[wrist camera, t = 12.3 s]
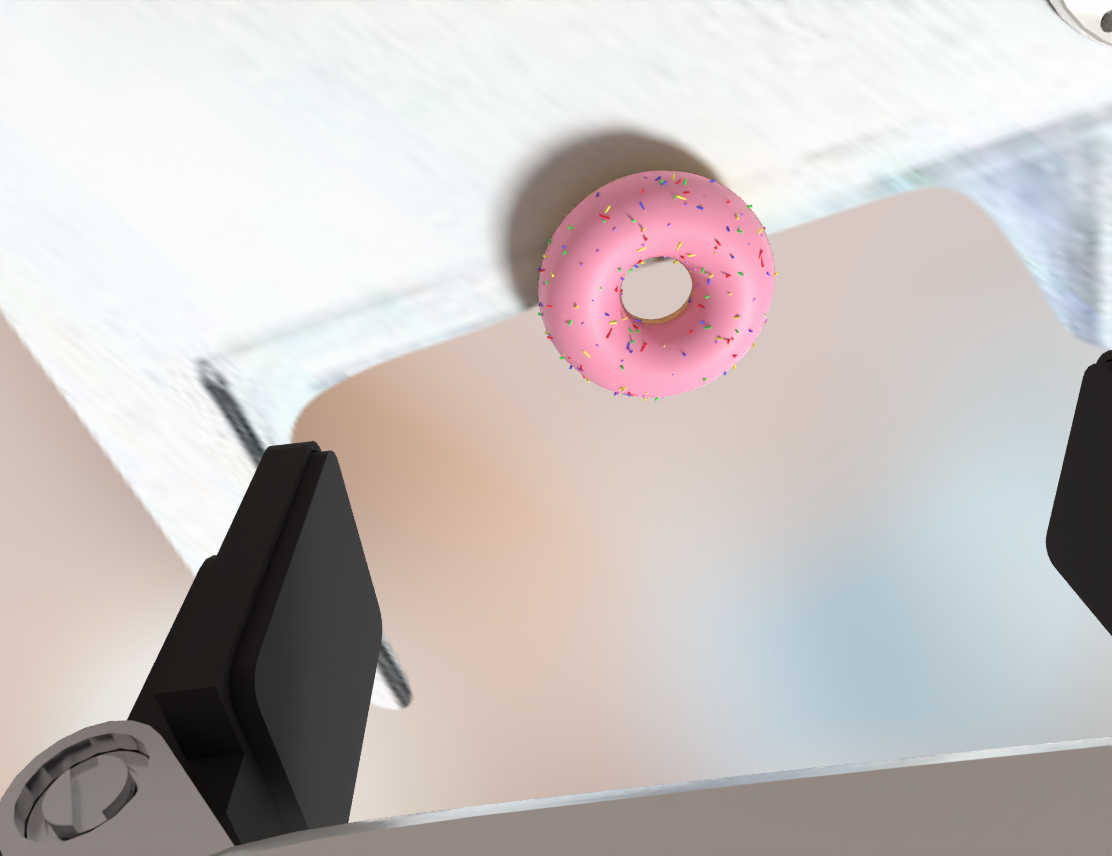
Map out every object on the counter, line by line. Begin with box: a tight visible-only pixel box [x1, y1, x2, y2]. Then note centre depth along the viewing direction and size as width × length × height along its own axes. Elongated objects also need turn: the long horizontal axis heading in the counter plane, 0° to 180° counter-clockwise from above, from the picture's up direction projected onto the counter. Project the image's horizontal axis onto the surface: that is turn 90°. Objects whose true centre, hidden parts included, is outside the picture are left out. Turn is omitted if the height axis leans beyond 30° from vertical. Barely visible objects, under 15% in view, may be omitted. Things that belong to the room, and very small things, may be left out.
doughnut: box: [538, 170, 778, 401], centre depth 40 cm, size 11×11×4 cm
